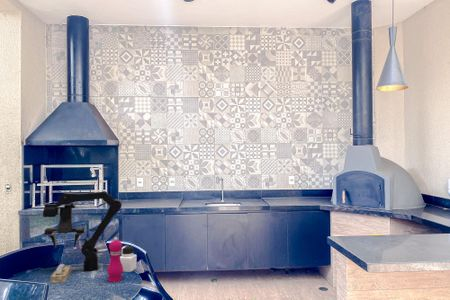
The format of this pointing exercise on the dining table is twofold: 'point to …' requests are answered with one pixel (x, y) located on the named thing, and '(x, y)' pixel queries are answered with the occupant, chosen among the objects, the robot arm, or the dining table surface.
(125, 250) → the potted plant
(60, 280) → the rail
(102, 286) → the dining table surface
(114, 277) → the pepper mill
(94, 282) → the dining table surface
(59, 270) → the clip
